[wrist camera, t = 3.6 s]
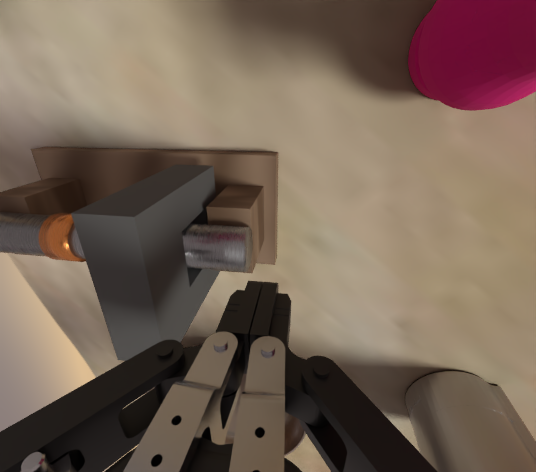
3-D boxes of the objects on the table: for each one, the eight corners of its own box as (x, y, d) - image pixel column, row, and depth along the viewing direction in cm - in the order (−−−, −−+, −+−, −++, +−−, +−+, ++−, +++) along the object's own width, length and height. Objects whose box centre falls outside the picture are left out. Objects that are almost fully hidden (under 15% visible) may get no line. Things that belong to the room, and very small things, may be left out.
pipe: (252, 216, 20) (241, 237, 17) (253, 259, 21) (243, 285, 18) (2, 202, 22) (-47, 218, 19) (19, 241, 24) (-25, 262, 21)
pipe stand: (278, 152, 24) (265, 171, 17) (276, 256, 28) (265, 301, 22) (45, 146, 27) (-38, 161, 20) (76, 242, 31) (16, 278, 25)
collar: (213, 165, 21) (134, 217, 12) (221, 267, 25) (167, 366, 16) (175, 164, 22) (70, 213, 12) (189, 265, 26) (118, 359, 16)
